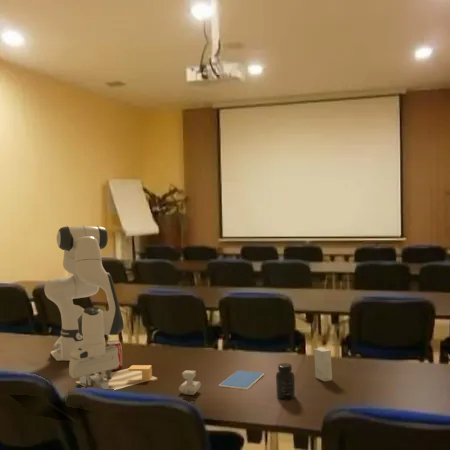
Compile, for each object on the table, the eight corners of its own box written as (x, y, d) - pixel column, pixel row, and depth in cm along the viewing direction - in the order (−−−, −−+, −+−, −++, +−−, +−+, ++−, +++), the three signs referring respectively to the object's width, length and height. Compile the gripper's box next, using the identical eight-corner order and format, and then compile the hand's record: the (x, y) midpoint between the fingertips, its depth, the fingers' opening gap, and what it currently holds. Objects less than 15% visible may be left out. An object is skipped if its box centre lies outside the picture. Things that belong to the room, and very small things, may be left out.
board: (75, 383, 222) (75, 381, 222) (132, 369, 239) (132, 367, 239) (98, 396, 206) (98, 394, 206) (157, 379, 223) (157, 378, 223)
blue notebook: (247, 391, 209) (247, 388, 209) (218, 387, 214) (217, 384, 214) (265, 375, 226) (265, 372, 226) (237, 372, 232) (237, 369, 232)
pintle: (105, 380, 225) (105, 365, 225) (110, 379, 226) (109, 364, 226) (108, 381, 223) (107, 367, 223) (112, 380, 225) (112, 365, 224)
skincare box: (332, 380, 217) (332, 350, 216) (323, 382, 215) (322, 351, 214) (323, 375, 222) (322, 346, 222) (314, 377, 221) (313, 348, 220)
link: (79, 382, 220) (79, 374, 220) (93, 378, 224) (93, 371, 224) (98, 392, 208) (97, 384, 208) (112, 388, 212) (111, 380, 211)
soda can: (118, 371, 236) (117, 344, 235) (103, 371, 237) (102, 344, 236) (125, 366, 243) (124, 340, 242) (110, 366, 244) (109, 339, 243)
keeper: (128, 382, 222) (128, 369, 221) (132, 378, 227) (131, 365, 226) (149, 382, 221) (149, 368, 221) (152, 378, 226) (151, 365, 226)
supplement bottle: (274, 394, 203) (274, 362, 203) (292, 393, 204) (292, 361, 203) (278, 400, 197) (277, 368, 196) (296, 399, 197) (296, 367, 197)
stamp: (194, 398, 202) (193, 376, 201) (177, 397, 204) (177, 374, 203) (202, 389, 210) (201, 368, 210) (186, 388, 212) (185, 367, 212)
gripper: (113, 342, 224) (115, 375, 225) (66, 352, 211) (68, 387, 212) (121, 345, 219) (122, 379, 220) (73, 356, 206) (75, 392, 207)
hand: (95, 383), depth 216 cm, fingers closed on link, 3 cm apart
